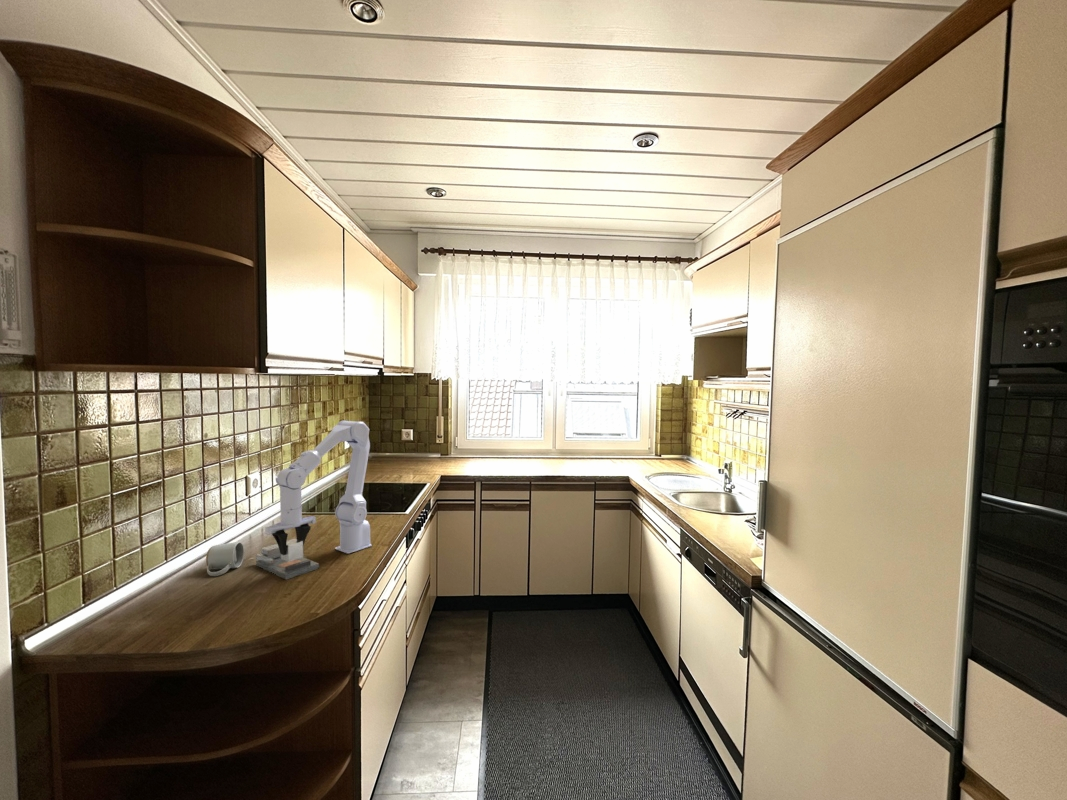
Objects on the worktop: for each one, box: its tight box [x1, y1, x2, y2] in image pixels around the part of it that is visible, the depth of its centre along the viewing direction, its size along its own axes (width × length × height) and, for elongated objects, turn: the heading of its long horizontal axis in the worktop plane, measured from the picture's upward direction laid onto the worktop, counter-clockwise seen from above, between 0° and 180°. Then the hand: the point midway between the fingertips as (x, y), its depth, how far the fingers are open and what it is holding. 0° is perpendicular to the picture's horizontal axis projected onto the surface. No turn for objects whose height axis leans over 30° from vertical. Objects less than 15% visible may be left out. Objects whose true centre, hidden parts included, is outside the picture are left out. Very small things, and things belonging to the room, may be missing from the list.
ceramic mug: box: [205, 541, 245, 577], centre depth 142 cm, size 11×8×8 cm
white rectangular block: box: [281, 538, 304, 562], centre depth 142 cm, size 4×4×5 cm
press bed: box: [255, 553, 320, 580], centre depth 144 cm, size 10×20×3 cm, turn 55°
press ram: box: [260, 543, 281, 559], centre depth 148 cm, size 6×4×3 cm, turn 145°
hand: (291, 551), depth 142 cm, fingers closed on white rectangular block, 4 cm apart
